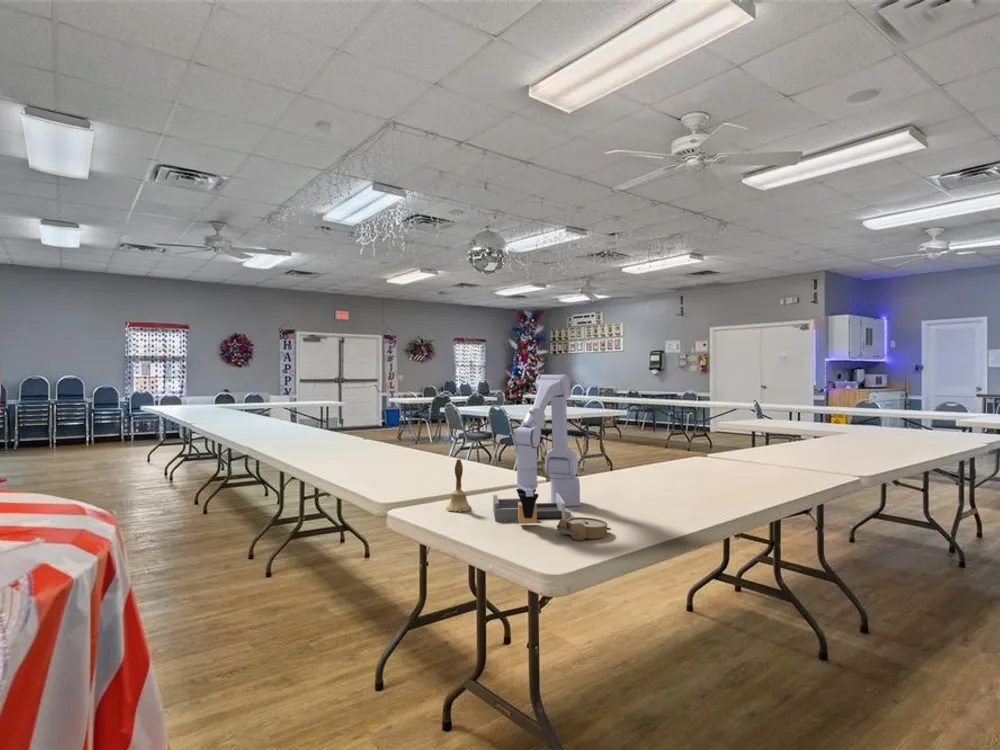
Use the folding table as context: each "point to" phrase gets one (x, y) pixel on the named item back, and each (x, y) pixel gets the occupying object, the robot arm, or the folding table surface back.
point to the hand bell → (458, 492)
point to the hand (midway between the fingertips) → (527, 515)
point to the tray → (551, 508)
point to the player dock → (505, 508)
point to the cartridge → (521, 515)
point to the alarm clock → (583, 528)
